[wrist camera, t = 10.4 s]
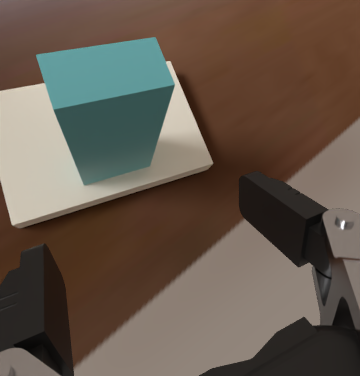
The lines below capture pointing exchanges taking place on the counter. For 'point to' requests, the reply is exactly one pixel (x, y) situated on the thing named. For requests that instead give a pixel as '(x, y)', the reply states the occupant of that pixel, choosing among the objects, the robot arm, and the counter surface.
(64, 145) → the teal block on base
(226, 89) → the counter surface
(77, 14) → the counter surface
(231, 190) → the counter surface
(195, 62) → the counter surface
